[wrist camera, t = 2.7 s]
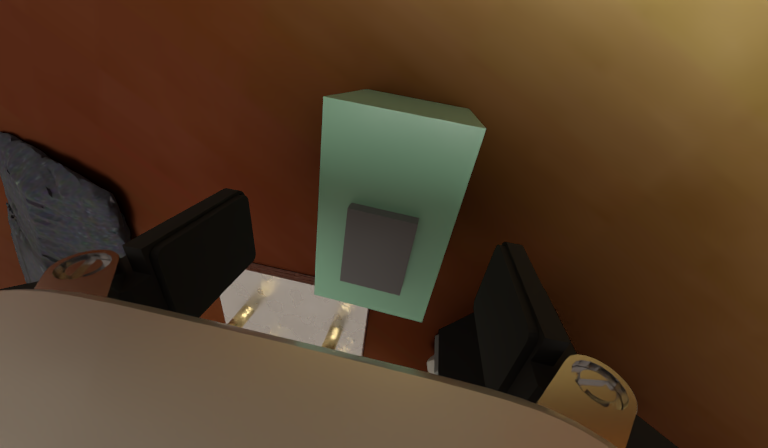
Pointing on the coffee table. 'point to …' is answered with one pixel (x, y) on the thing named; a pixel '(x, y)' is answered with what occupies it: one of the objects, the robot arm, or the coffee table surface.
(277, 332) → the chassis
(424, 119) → the green block
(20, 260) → the dark slate chunk
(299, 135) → the coffee table surface
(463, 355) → the electrical component
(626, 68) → the coffee table surface
